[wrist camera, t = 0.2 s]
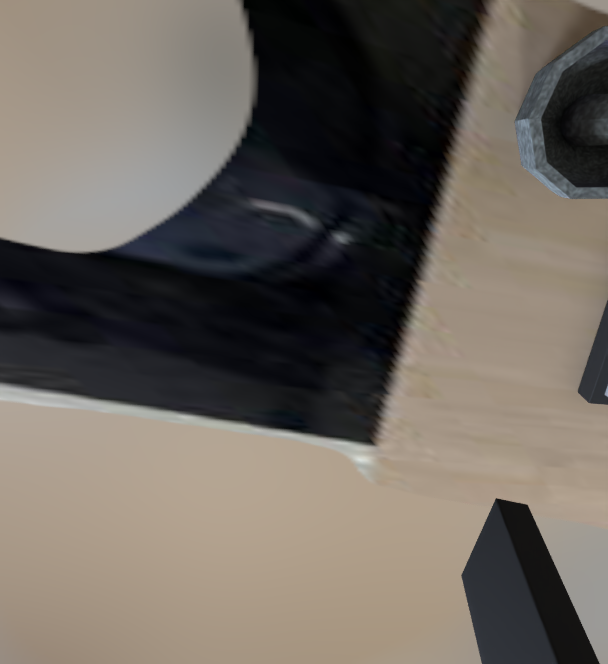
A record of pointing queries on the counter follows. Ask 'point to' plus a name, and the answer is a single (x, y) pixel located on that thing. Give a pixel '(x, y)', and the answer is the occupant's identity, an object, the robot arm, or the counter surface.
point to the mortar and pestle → (569, 121)
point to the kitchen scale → (597, 367)
